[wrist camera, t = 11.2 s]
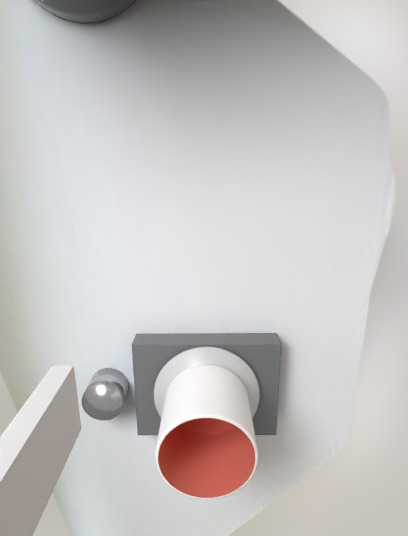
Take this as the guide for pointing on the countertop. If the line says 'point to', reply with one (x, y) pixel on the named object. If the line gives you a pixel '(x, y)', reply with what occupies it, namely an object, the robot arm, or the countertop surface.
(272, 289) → the countertop surface
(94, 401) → the cylinder
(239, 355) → the scale
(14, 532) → the robot arm
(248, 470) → the cup
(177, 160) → the countertop surface
